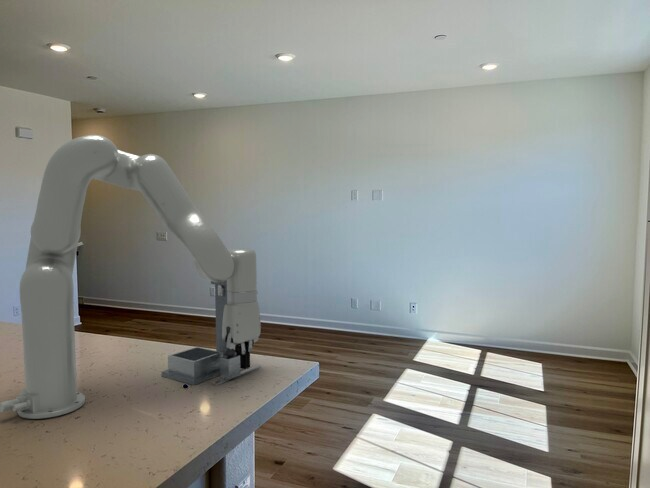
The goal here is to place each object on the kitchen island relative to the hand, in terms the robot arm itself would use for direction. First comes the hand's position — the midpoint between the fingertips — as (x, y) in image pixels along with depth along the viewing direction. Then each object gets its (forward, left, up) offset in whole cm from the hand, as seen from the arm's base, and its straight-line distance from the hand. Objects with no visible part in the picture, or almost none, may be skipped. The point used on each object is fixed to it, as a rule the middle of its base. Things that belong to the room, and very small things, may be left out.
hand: (243, 367), depth 123 cm
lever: (-5, 0, -2) cm, 5 cm away
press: (-4, +10, -2) cm, 11 cm away
